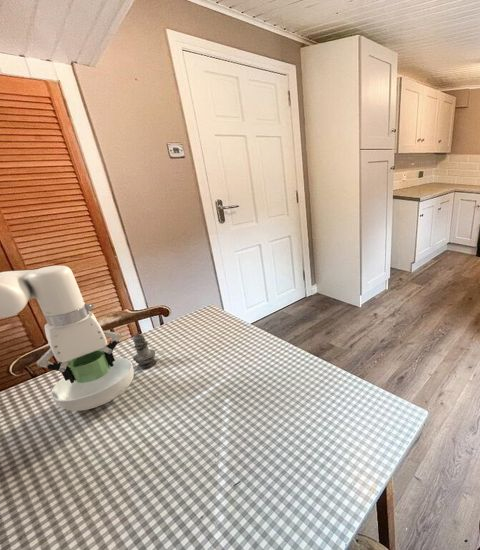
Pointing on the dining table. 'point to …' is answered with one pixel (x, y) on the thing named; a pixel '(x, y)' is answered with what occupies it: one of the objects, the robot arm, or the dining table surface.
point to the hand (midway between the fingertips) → (91, 371)
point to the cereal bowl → (94, 388)
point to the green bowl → (89, 367)
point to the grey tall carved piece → (143, 353)
